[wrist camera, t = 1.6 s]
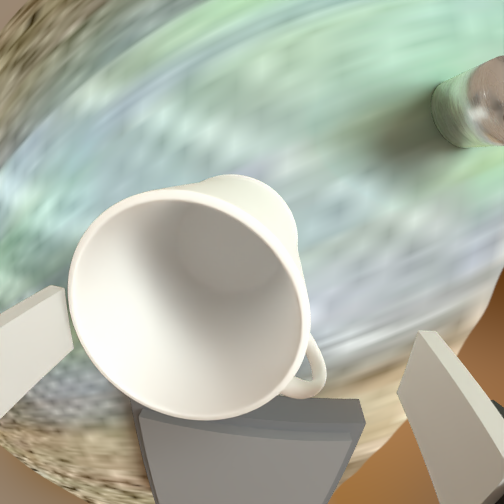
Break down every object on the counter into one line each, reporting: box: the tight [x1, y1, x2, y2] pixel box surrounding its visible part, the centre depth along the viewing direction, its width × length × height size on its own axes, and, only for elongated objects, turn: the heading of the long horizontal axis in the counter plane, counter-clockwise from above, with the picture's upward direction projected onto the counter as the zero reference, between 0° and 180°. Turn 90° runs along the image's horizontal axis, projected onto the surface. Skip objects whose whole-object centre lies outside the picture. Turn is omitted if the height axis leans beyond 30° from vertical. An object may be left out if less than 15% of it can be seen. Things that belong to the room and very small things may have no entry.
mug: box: [68, 174, 327, 420], centre depth 15 cm, size 12×8×12 cm
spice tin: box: [431, 56, 504, 148], centre depth 14 cm, size 5×5×7 cm
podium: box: [130, 396, 366, 504], centre depth 24 cm, size 18×18×4 cm
